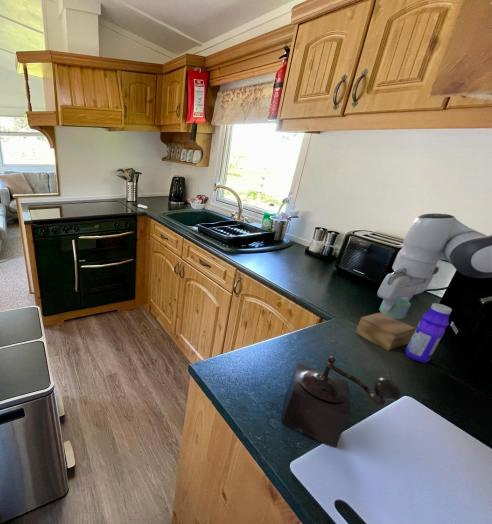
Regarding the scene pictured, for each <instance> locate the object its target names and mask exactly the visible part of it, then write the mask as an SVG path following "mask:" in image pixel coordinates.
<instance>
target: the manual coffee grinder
mask: <svg viewBox="0 0 492 524" xmlns="http://www.w3.org/2000/svg"><path fill="white" fill-rule="evenodd" d="M335 362H336V358H335V357H334V356H332V355H331V356H328V357H327V360H326V361H325V368H324V371H321V370H318V369H315V368H312V367H310V366H307V365H304V364H302V363H299V362H297V363H296V365H295V368H294V370H293V373H292V376H291V379H290V382H289V384H288V387H287V390H286V392H285V395H284V401H283V407H282V413H281V418H280V420H281V423H282V424H283V425H285V426H287V427H289V428H290V429H292V430H294V431H296V432H299V433H300V434H302V435H304V436H306V437H308V438H309V439H310V438H311V439H313V440H315V441H318V442H320V443H323V444H325V445H328V446H330V447H334V448H338V443H339V441H340V438H341V436H342V433H343V432H344V430H345V427H346V425H347V424H348V421H349V419H350V417H351V413H352V409H351V407H352V406H351V394H350V388H349V387H350V386H349V382H348V381H347V380H344V379H341V378H339V377H336V376H333V375H332V374H330V372H331V370H333V371H334V372H336V373H337V374H339V375H340V376H342V377H345V378H346V379H348V380H350V381H351V382H353V383H355V384H356V385H358V386H360V387H361V388H362V390H364V391H365V393H367V395H368V397H369V398H370V400H371V401H372V402H374V403H375V404H376V405H378V406H381V407H385V406H386V404H387V402H389V401H398V400H399V399H401V397H402V390H401V388H400V386H398V385H397V383H395V382H394V381H393V380H391V379H389V378H387V377H384V376H382V377H378V378H376V379H375V380H374V389H373V390H372V389H371V388H370V387H369V385H367V384H366V383H365V382H364V381H362V380H361V379H359V378H357V377H356V376H354V375H352V374H350V373H348V372H347V371H345V370H343V369H341V368H340V367H338V366H336V365H335Z"/></svg>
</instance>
